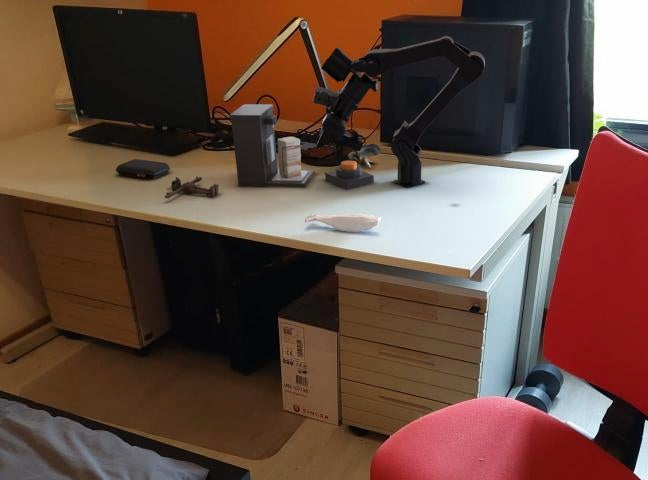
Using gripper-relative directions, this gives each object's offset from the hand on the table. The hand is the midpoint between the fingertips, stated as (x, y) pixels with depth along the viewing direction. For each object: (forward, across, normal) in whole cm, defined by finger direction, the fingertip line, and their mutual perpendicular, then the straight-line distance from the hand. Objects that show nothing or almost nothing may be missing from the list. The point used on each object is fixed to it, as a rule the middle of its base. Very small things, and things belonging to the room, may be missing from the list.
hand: (319, 141), depth 197 cm
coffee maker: (+17, 0, -4) cm, 17 cm away
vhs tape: (+15, -29, +3) cm, 33 cm away
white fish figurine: (+1, +39, +12) cm, 41 cm away
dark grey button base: (+4, +2, +13) cm, 14 cm away
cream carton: (+13, 0, -1) cm, 13 cm away
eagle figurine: (+2, -13, +17) cm, 21 cm away
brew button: (+1, +1, +11) cm, 11 cm away
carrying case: (+42, -7, -36) cm, 56 cm away
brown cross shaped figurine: (+29, +11, -21) cm, 37 cm away
